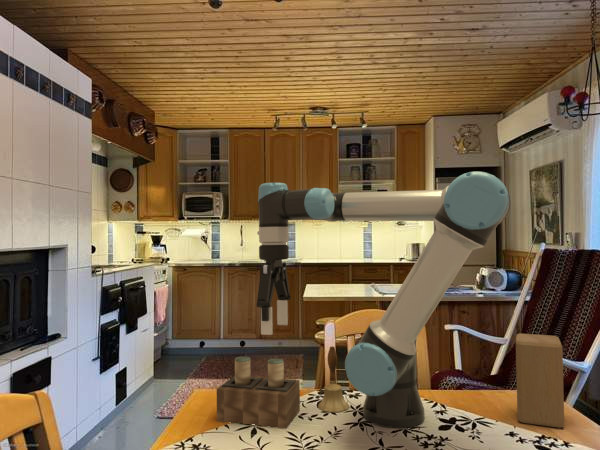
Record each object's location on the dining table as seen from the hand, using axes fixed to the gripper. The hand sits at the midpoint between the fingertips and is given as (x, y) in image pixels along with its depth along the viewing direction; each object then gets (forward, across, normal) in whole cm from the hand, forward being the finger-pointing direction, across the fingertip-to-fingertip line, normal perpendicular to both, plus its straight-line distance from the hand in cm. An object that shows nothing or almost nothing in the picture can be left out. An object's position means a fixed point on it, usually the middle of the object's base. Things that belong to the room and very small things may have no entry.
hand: (275, 329), depth 119 cm
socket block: (+22, 0, -5) cm, 23 cm away
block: (+23, -15, +63) cm, 69 cm away
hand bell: (+23, -11, +12) cm, 28 cm away
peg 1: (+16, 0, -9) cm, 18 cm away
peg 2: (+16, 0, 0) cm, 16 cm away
